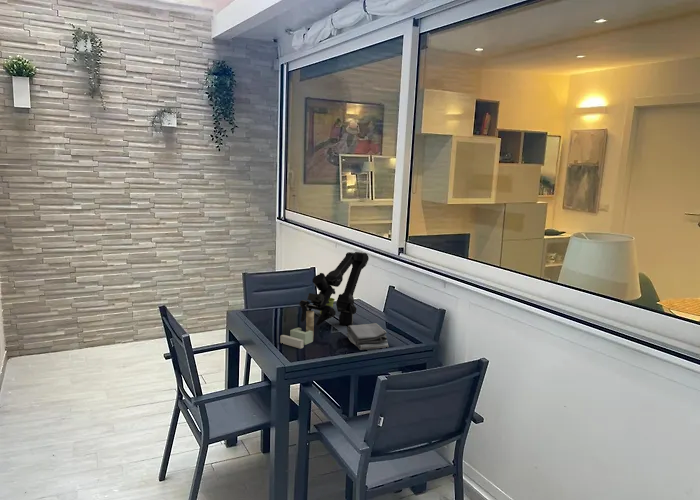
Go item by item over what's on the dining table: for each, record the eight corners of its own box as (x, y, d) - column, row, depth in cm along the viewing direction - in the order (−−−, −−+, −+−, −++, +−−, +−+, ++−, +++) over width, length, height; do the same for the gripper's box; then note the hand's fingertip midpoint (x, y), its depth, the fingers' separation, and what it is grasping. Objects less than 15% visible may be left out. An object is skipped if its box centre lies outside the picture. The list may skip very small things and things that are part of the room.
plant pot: (315, 316, 275) (315, 300, 273) (320, 311, 283) (321, 296, 282) (331, 317, 272) (331, 302, 271) (336, 313, 281) (337, 298, 280)
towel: (375, 336, 244) (375, 320, 243) (389, 348, 227) (390, 331, 226) (345, 338, 240) (345, 322, 239) (357, 351, 222) (357, 334, 221)
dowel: (314, 337, 239) (314, 310, 237) (312, 339, 235) (313, 312, 233) (307, 336, 239) (307, 310, 237) (305, 339, 236) (305, 312, 234)
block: (298, 337, 237) (298, 327, 236) (312, 341, 232) (313, 331, 231) (290, 340, 233) (290, 330, 232) (305, 344, 228) (305, 334, 227)
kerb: (283, 342, 231) (283, 334, 231) (303, 347, 224) (303, 340, 224) (280, 343, 230) (280, 335, 229) (300, 348, 223) (300, 341, 222)
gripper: (301, 283, 243) (286, 310, 235) (332, 289, 232) (317, 317, 225) (311, 296, 250) (296, 323, 243) (342, 303, 240) (327, 330, 232)
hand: (309, 323), depth 236 cm, fingers open, 9 cm apart
